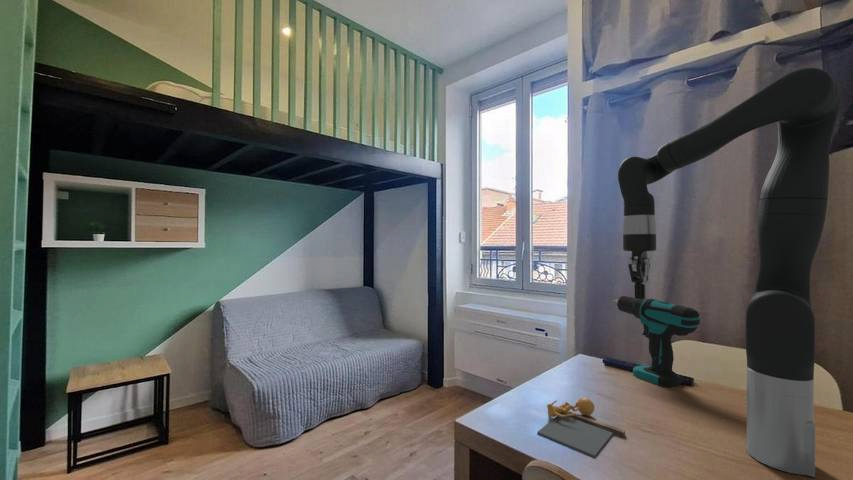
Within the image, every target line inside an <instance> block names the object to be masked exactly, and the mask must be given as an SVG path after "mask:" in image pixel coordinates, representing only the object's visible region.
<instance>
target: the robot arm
mask: <svg viewBox="0 0 853 480" xmlns="http://www.w3.org/2000/svg"><path fill="white" fill-rule="evenodd" d="M842 101H843V89H842V86H841V84H840V83H839V82H838V81H837V80H836V79H835V78H834V77H833V76H832V75H831V74H830V73H829V72H828V71H826V70H824V69H822V68H818V67H817V68H816V67H805V68H800V69H797V70H794V71H792V72H789V73H787V74H785V75H783V76H781V77H780V78H778V79H776V80H775V81H773V82H772V83H770V84H768V85H766V86H765V87H764V88H762V89H761V90H759V91H758V92H756V93H755V94H753V95H752V96H750V97H749V98H747V99H746V100H744V101H742V102H740V103H738V104H737V105H736V106H734V107H732V108H730V109H729V110H727V111H725V112H724V113H722V114H721V115H719V116H717V117H716V118H714V119H712V120H710V121H708V122H707V123H704V124H702V125H701V126H699V127H697V128H695V129H693V130H691V131H689V132H687V133H685V134H683V135H681V136H678V137H676V138H675V139H672V140H669V141H668V142H666V143H665V144H662V145H661V146H660V147H659V148H658V149H657V152H656V153H655V154H654V155H651V156H650V157H647V158H644V157H639V156H630V157H627V158H625V159H624V160H623V161H622V162H621V163H620V165H619V167H618V169H617V170H618V171H617V179H618V180H617V181H618V184H619V189H620V193H621V196H622V200H623V221H622V222H623V223H622V247H623V248H622V249H623V251H625V252H631V257H630V258H629V264H628V270H629V276H630V280H631V283H633V285H634V298H636V299H644V298H646V285H647V282H648V281H649V274H650V267H651V264H650V263H651V262H650V261H651V260H650V258H649V257H648V253H647V252H655V251H657V222H656V213H655V208H656V207H655V206H656V205H655V203H656V202H655V197H654V195H652V193H650V192H649V190H648V185H651V184H653V183H656V182H658V181H660V180H662V179H664V178H665V177H667V176H668V175H670V174H671V173H674V172H675V171H677V170H679V169H681V168H684V167H687V166H689V165H691V164H694V163H696V162H699V161H700V160H703V159H705V158H707V157H709V156H711V155H713V154H714V153H716V152H717V151H719V150H721V148H724V147H725V146H726V145H728V144H729V143H731V142H732V141H734V140H736V139H737V138H739V137H741V136H744V135H745V134H747V133H750V132H751V131H754V130H756V129H759V128H762V127H764V126H765V127H766V126H767V125H768V126H769V125H770V124H774V123H777V132H778V133H777V148H776V154H775V158H774V160H773V162H772V164H771V167H770V169H769V171H768V172H767V174H766V177H765V179H764V183H763V185H762V187H761V191H760V196H759V202H758V213H757V227H756V228H757V243H758V244H757V245H758V254H759V266H758V272H757V277H756V282H755V285H754V289H753V293H752V295H751V299H750V301H749V303H748V304H747V306H746V309H745V355H746V441H745V442H746V452H747V453H748V454H749V456H750V457H752V458H753V459H754V460H755V461H758V462H760V463H762V464H764V465H765V466H768V467H770V468H773V469H776V470H779V471H782V472H786V473H789V474H795V475H802V476H808V477H812V478H816V424H815V419H814V418H815V417H814V416H815V415H814V414H815V413H814V411H815V409H814V407H815V405H814V401H815V400H814V397H815V396H814V389H815V388H814V387H815V386H814V385H815V384H814V383H815V382H814V380H815V379H814V378H815V377H814V375H815V374H814V371H815V363H816V362H815V359H816V358H815V357H816V356H815V353H816V351H815V350H816V349H815V348H816V347H815V345H816V328H815V327H816V321H815V314H814V312H813V309H812V304H811V269H812V265H813V261H814V258H815V255H816V253H817V249H818V247H819V244H820V241H821V238H822V235H823V231H824V227H825V221H826V214H827V208H828V207H827V206H828V200H829V199H828V198H829V183H830V182H829V181H830V179H829V178H830V148H831V141H832V137H833V132H834V129H835V125H836V122H837V118H838V115H839V111H840V108H841V104H842Z"/></svg>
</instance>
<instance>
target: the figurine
mask: <svg viewBox="0 0 853 480" xmlns="http://www.w3.org/2000/svg"><path fill="white" fill-rule="evenodd" d="M557 402H558V400H554V401H552V402H551V403H550V404H549V403H548V404H547V405H546V407H547V414H548V416H549V417H551V418H555V417H556V416H559V417H562V418H564V417H569V416H575V414H574V413H575V412H579V413H580V415H582V416H591V415H593V413H594V412H595V404H594V402H593V401H592V400H591V399H590V398H588V397H581V398H578V399H577V402H576V403H575V404H574V405H572V404H570V403H569V402H568V401H566V402H564V403H563V404H561V405H560V406H557V405H555V403H557ZM569 411H571V412H572V414H567V415H561V413H563V412H564V413H567V412H569Z"/></svg>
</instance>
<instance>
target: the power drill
mask: <svg viewBox="0 0 853 480" xmlns="http://www.w3.org/2000/svg"><path fill="white" fill-rule="evenodd" d="M612 302H613V303H615V304H616V306H617V308H618V310H619V311H620V312H624V313H627V314H630V315H633V316H634V317H635V319H639V320H640V324H641V325H642V326H643V332H642V334H641V335H642V336H644V337H645V338H648V351H649V355H650V358H651V360H652V361H651V362H652V363H651V365H643V364H642V365H637V366H634V367H633V368H632V377H633V376H634V377H635V378H638V379H640V380H643V381H646V382H649V383H651V384H655V385H657V386H658V387H663V388H668V389H669V388H674V387H678V386H681V385H682V384H683V383H682V382H683V381H682V379H683V377H681V375H679V374H677V373H676V371H673V365H674V350H673V344H672V337H673V336H674V335H676V336H679V337H683V336H684V337H686V336H687V335H689V334H692V333H694V332H695V331H696V330H697V329H698V327H699V325H700V323H701V319H700V313H699V312H698V311H697V310H696V309H695V308H693V307H690V306H685V305H680V304H673V303H671V302H670V303H669V302H665V301H661V300H657V299H656V298H655V299H654V298H647V297H645V298H644V299H636V298H635V297H633V296H627V295H622V296H620V297H618V298H617V299H613V300H612Z"/></svg>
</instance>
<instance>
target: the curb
mask: <svg viewBox="0 0 853 480" xmlns="http://www.w3.org/2000/svg"><path fill="white" fill-rule="evenodd" d="M572 412H573V411H571V410H569V412H567V413H564V412H563V413H561V414H563V415H567V414H572ZM573 413H574V414H575V416H569V417H571V418H574V419H577V420H580V421H582V422H585V423H588V424H591V425H594V426H596V427H599V428H602V429H605V430H608V431H611V432H613V435H616V436H619V437H622V438H624V437H625V436H626V430H624V429H622V428H619V427H617V426H613V425H610V424H608V423H606V422H601V421H599V420H596V419H593V418H590V417H587V416H586V415H583V414H579V413H576V412H573Z"/></svg>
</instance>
